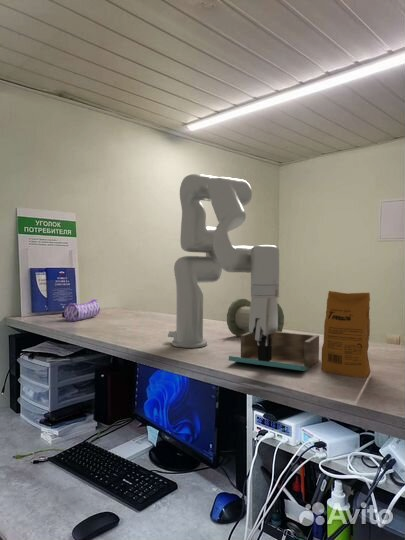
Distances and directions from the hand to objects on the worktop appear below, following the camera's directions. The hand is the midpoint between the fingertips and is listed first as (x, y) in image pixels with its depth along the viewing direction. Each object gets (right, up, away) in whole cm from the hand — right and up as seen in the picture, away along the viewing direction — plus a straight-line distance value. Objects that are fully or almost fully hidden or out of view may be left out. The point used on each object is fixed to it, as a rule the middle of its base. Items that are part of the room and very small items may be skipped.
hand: (264, 360), depth 107 cm
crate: (+6, -3, +12) cm, 14 cm away
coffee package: (+21, -4, 0) cm, 22 cm away
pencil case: (-79, -2, +100) cm, 127 cm away
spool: (+4, -3, +51) cm, 51 cm away
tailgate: (+3, -3, +6) cm, 7 cm away
